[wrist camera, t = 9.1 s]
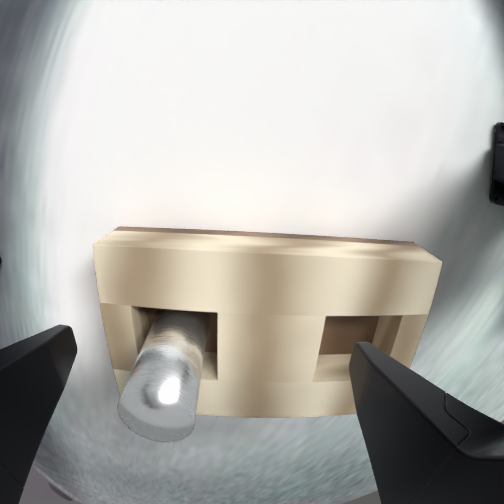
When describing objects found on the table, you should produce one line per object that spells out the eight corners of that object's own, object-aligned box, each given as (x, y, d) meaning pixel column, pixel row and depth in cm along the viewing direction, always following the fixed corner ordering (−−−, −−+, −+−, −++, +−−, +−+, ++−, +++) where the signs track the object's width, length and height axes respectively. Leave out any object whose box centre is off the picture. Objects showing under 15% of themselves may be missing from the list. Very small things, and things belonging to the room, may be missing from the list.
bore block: (413, 242, 20) (442, 262, 16) (376, 377, 24) (391, 409, 20) (118, 226, 19) (92, 245, 16) (136, 371, 23) (122, 404, 20)
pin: (209, 297, 20) (191, 395, 12) (209, 342, 21) (196, 445, 13) (156, 294, 20) (109, 386, 11) (160, 339, 21) (126, 436, 12)
